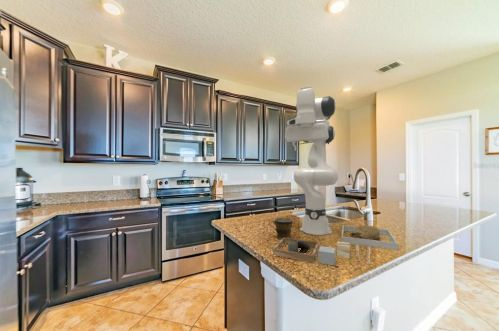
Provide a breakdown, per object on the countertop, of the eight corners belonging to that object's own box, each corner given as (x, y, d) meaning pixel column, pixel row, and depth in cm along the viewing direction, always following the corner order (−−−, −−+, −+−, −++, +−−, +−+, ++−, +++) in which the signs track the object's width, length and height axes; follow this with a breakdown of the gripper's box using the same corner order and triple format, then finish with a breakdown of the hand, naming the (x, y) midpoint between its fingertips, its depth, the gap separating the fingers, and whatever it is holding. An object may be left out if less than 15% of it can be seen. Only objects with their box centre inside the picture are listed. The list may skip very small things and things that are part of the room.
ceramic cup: (291, 235, 122) (291, 217, 123) (293, 240, 113) (293, 222, 113) (269, 234, 124) (269, 217, 124) (269, 240, 114) (269, 221, 114)
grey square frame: (342, 230, 132) (342, 225, 132) (388, 235, 121) (388, 229, 122) (341, 242, 110) (341, 236, 110) (397, 249, 100) (397, 243, 100)
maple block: (337, 252, 97) (337, 241, 97) (349, 254, 95) (349, 242, 95) (337, 256, 93) (336, 245, 93) (349, 258, 91) (349, 246, 91)
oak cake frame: (283, 243, 109) (283, 237, 109) (318, 248, 102) (318, 242, 102) (272, 256, 93) (272, 249, 93) (313, 263, 86) (313, 255, 86)
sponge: (368, 248, 105) (390, 234, 114) (363, 232, 106) (385, 219, 115) (346, 244, 117) (368, 232, 126) (341, 230, 117) (363, 219, 127)
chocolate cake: (298, 247, 104) (285, 234, 100) (311, 246, 100) (298, 232, 95) (295, 267, 98) (281, 253, 93) (309, 266, 93) (295, 252, 89)
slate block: (320, 257, 91) (320, 245, 91) (335, 260, 89) (335, 248, 89) (318, 263, 86) (318, 250, 86) (334, 266, 83) (334, 253, 83)
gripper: (329, 120, 100) (329, 149, 100) (286, 124, 109) (287, 151, 108) (328, 117, 95) (329, 148, 94) (283, 122, 103) (283, 150, 103)
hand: (306, 150), depth 101 cm, fingers open, 8 cm apart
